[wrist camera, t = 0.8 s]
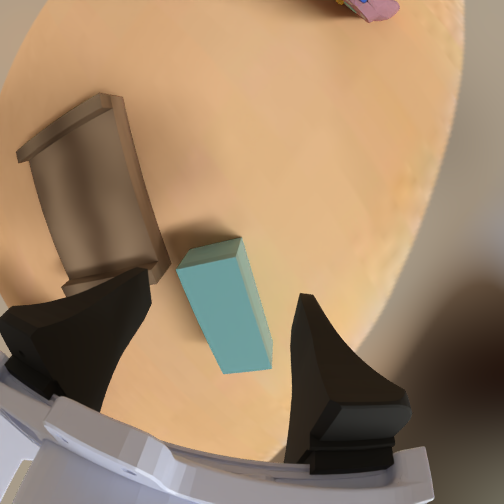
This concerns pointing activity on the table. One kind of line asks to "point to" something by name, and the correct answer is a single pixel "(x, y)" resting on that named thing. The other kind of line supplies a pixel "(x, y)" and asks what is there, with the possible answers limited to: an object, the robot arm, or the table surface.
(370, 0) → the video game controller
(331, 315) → the table surface
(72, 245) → the display stand
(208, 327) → the teal rectangular block
